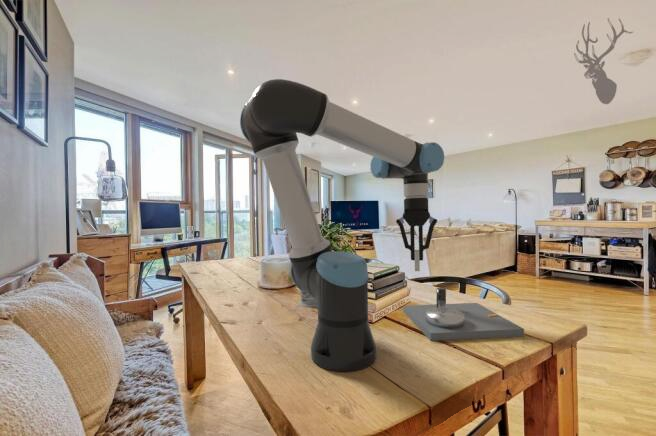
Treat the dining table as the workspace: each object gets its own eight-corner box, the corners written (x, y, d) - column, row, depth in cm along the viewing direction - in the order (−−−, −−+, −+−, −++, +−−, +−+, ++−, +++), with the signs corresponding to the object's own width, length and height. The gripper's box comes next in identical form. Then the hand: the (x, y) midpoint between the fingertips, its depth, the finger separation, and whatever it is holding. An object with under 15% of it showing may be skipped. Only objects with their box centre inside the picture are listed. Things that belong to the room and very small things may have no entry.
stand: (430, 340, 77) (430, 332, 77) (403, 311, 99) (403, 304, 99) (524, 336, 79) (524, 327, 79) (476, 308, 101) (476, 301, 101)
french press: (299, 298, 115) (298, 233, 114) (330, 298, 115) (329, 233, 114) (296, 307, 105) (294, 235, 105) (329, 307, 105) (328, 235, 104)
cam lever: (467, 330, 78) (467, 307, 78) (426, 326, 81) (426, 304, 81) (457, 307, 96) (457, 288, 96) (424, 305, 99) (424, 287, 99)
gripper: (436, 197, 99) (437, 268, 100) (395, 198, 103) (397, 267, 103) (438, 196, 92) (439, 273, 93) (394, 197, 95) (395, 272, 96)
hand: (417, 270), depth 98 cm, fingers closed
